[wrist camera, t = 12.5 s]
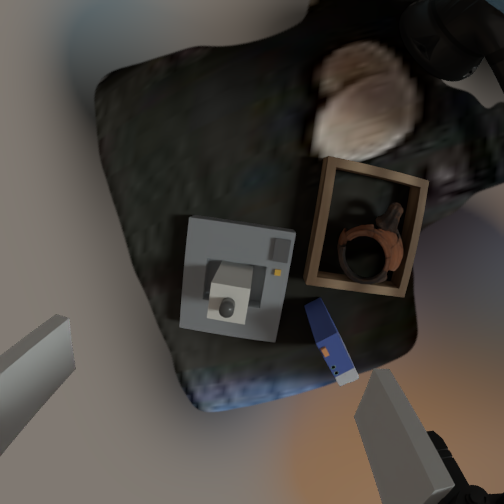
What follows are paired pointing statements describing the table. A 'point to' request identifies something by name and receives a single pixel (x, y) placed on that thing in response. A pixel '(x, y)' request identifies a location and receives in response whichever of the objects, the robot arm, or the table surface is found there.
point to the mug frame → (408, 234)
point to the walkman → (330, 342)
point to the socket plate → (240, 251)
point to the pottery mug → (384, 236)
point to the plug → (230, 292)
